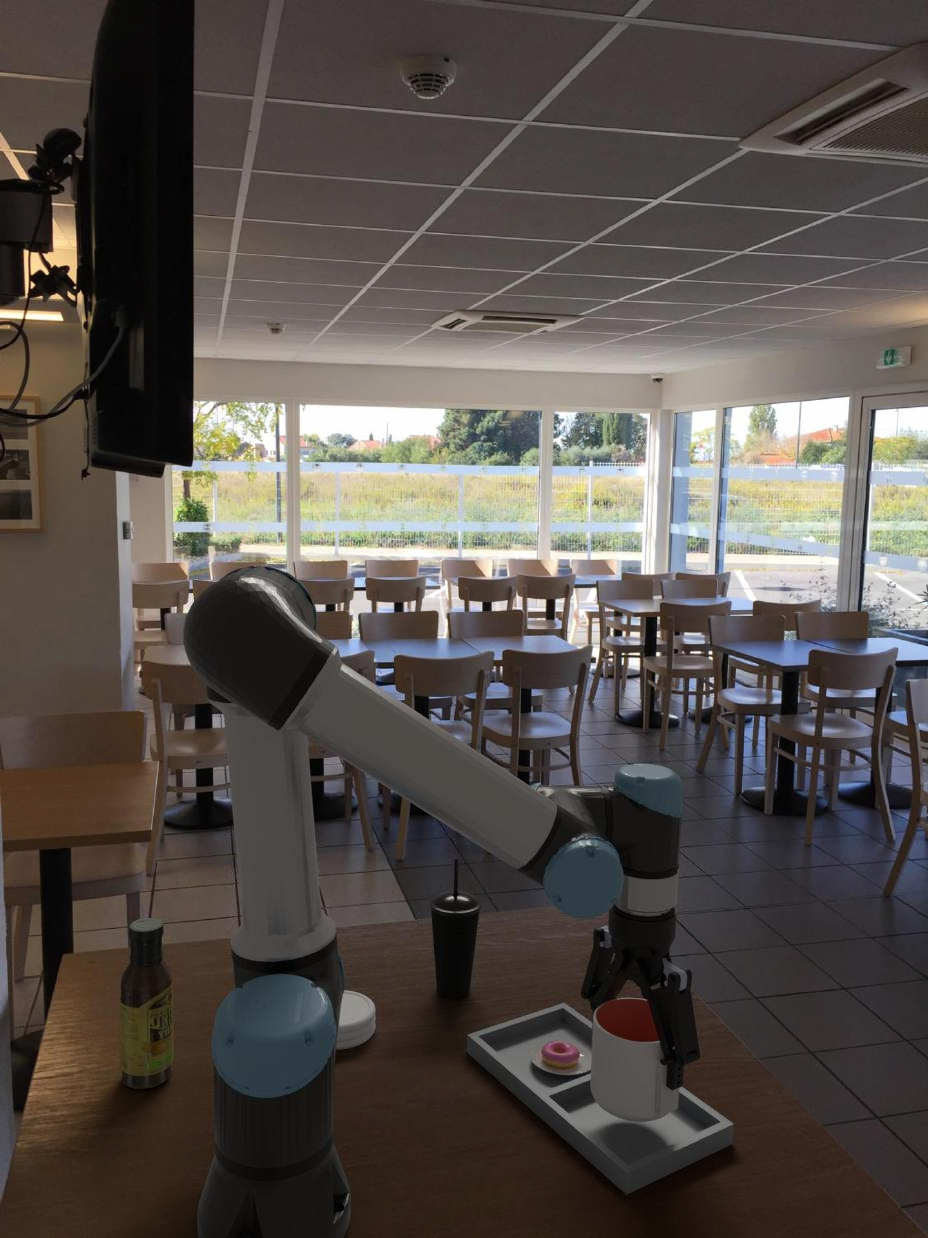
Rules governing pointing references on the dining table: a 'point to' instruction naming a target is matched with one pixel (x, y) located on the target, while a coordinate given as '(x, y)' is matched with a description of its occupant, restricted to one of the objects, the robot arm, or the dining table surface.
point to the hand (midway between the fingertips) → (634, 1086)
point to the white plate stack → (355, 1020)
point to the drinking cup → (454, 938)
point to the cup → (625, 1059)
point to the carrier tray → (595, 1103)
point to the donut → (561, 1058)
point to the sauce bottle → (146, 1009)
